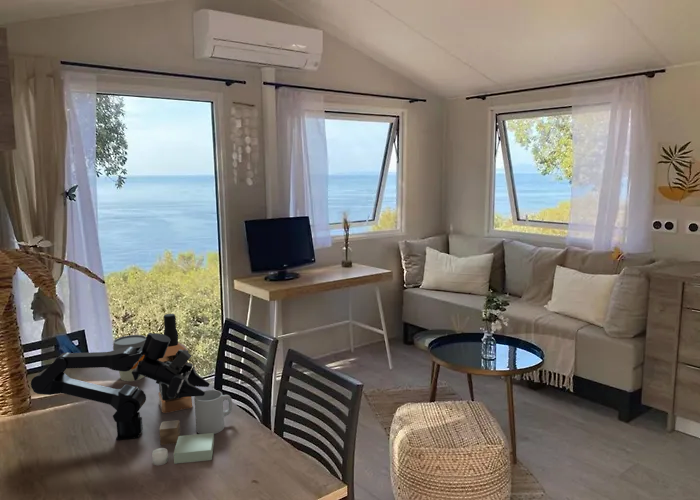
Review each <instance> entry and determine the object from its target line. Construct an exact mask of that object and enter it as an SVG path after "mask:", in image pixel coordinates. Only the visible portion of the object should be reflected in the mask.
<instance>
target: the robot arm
mask: <svg viewBox="0 0 700 500" xmlns="http://www.w3.org/2000/svg"><path fill="white" fill-rule="evenodd" d="M169 343H170V338H169V337H168V336H166V335H164V333H158V332H157V333H156V332H148V334H147V335H146V341H145V343H144V346H142V347H137V348H134V347H125V348H120V349H117V350H113V349H112V350H111V351H110V350H109V351H96V352H94V351H93V352H63V353H61V354H60V355H59V356H58V357H56V358H55V360H54V361H53V362H52V364H50V365H49V367H47V368H45V369H43V370H42V371H41V372H39V373H38V374H37V375H35V376H34V377H33V378H31V381H30V387H31V389H32V392H34V393H35V394H36V395H37V394H38V395H46V396H50V395H52V396H53V395H60V394H61V395H62V394H64V395H67V396H73V397H77V398H81V399H84V400H88V401H92V402H97V403H102V404H105V405H110V406H111V407H112V408H113V409H114V410H115V412H114V413H113V415H112V418H113V420H114V422H115V425H116V433H117V434H116V437H115V440H116V441H120V440H121V441H122V440H132V439H138V438H139V437H140V436H141V433H142V432H143V430H144V429H143V426H144V425H143V417H142V416H141V413H140V412H139V411H140V409H141V408H142V407H143V406H144V404H145V402H146V401H147V395H146V393H145V391H144V390H143V389H141V388H139V386H133V385H130V384H126V383H125V384H124V385H123V386H122V387H121V388H114V387H113V388H112V387H109V386H104V385H100V384H96V383H92V382H88V381H84V380H80V379H77V378H71V377H69V375H67V374H66V373H65V372H66V370H67V369H90V368H93V369H95V368H107V369H110V370H112V371H115V372H116V371H117V372H119V371H123V372H126V371H129V370H130V369H131V368H132V367H133V366H134V365H135V364H136V363H137V362H138V361H139V359H140V358H141V357H142V356H143V355H145V356H144V359H143V360H141V361H139V363H138V365H137V368H136V369H135V370H133V371H132V374H133V377H134V380H135V381H138V380H137V379H138V378H139V377H140V375H143V376H145V377H144V378H148V379H151V380H154V381H155V384H157V385H159V383H160V382H161V383H163V384H166V385H168V386H169V387H168V389H167V392H166V394H167V396H168V397H170V398H172V399H174V398H175V397H176V393H178V394H177V397H176V398H180V397H195V396H204V394H205V392H204V391H205V390H202V389H200V388H198V387H201V388H209V387H210V385H211V384H210V382H209V381H208V380H205V378H203V377H201V376H200V375H199V374H198V373H197V372H196V369H195V366H194V364H193V363H191V362H188V361H189V360H190V359H191V357H192V354H190V353H189V350H188V349H187V350H185V349H184V350H179V351H178V352H177V353H176V358H175V359H174V360H173V361H172V362H170V361H168V362H166V363H164V362H162V361H159V358H163V357H164V355H165V353H166V350H167V348H168V345H169ZM185 362H187V363H185ZM184 363H185V364H184ZM182 365H183V366H182Z"/></svg>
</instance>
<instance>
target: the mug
mask: <svg viewBox="0 0 700 500" xmlns="http://www.w3.org/2000/svg"><path fill="white" fill-rule="evenodd" d="M203 391H204V392H205V394H204V396H194V411H195V412H194V413H195V431H196V432H197V433H198V434H207V433H214V435H215V434H218V433H220V432H221V431H223V430H224V429H225V419H224V418H225V417H226V416H229V415H230V414H231V413H232V410H233V400H232V396H230V395H229V394H223V392H221V391H220V390H216V389H207V390H203ZM224 401H228V408H227V409H226V410H224Z"/></svg>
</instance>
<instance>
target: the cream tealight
mask: <svg viewBox="0 0 700 500" xmlns="http://www.w3.org/2000/svg"><path fill="white" fill-rule="evenodd" d="M151 455H152V464H153V465H154V466H164V465H165V464H167V463H168V461H169V455H168V449H167V448H165V447H159V448H156V449H154V450H152V453H151Z"/></svg>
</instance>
